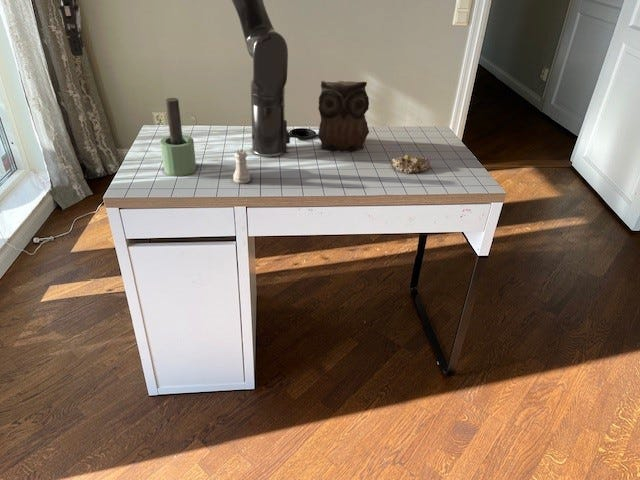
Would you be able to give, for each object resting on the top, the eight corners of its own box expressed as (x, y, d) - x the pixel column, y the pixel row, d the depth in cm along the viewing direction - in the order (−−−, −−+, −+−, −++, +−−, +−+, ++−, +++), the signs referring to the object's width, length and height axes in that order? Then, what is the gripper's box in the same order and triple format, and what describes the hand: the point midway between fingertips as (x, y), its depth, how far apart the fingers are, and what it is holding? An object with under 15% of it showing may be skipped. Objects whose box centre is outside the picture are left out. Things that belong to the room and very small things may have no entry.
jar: (193, 161, 134) (190, 133, 130) (198, 173, 128) (195, 145, 124) (162, 164, 132) (158, 136, 127) (166, 177, 125) (162, 148, 121)
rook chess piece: (247, 185, 124) (246, 155, 119) (230, 183, 124) (228, 153, 120) (252, 178, 127) (252, 149, 123) (236, 175, 128) (235, 147, 124)
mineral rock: (397, 167, 132) (391, 148, 137) (393, 179, 135) (388, 160, 140) (435, 168, 133) (428, 149, 138) (430, 180, 136) (424, 161, 142)
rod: (186, 163, 132) (179, 96, 122) (188, 169, 129) (181, 101, 119) (171, 165, 130) (162, 97, 121) (173, 171, 127) (164, 102, 118)
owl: (368, 148, 148) (376, 81, 137) (339, 158, 141) (345, 88, 130) (339, 136, 156) (343, 71, 145) (310, 145, 148) (312, 78, 137)
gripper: (79, -26, 99) (96, 57, 108) (81, -32, 110) (96, 44, 119) (38, -26, 97) (58, 59, 106) (44, -32, 108) (62, 45, 117)
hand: (78, 51), depth 112 cm, fingers open, 8 cm apart
